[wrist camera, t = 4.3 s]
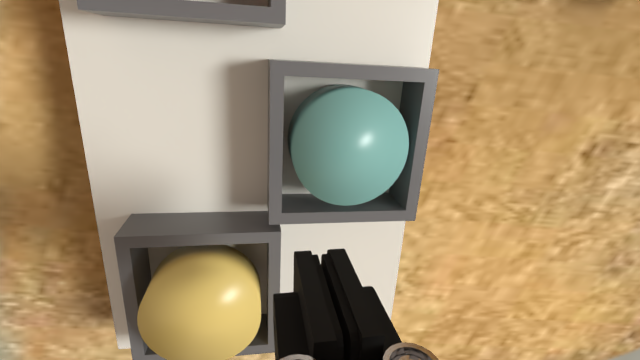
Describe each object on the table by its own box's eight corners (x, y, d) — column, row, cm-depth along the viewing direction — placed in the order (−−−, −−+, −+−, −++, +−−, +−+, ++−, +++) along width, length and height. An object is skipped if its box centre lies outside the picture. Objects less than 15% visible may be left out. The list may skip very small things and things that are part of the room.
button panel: (61, -181, 15) (-36, -297, 10) (429, -122, 18) (498, -189, 13) (134, 314, 24) (101, 386, 19) (375, 297, 27) (404, 355, 22)
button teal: (288, 81, 17) (293, 86, 15) (397, 86, 18) (416, 91, 16) (286, 188, 19) (290, 206, 17) (384, 187, 20) (400, 204, 18)
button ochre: (145, 244, 18) (129, 272, 15) (260, 240, 19) (261, 266, 16) (156, 334, 19) (144, 371, 17) (260, 326, 20) (261, 360, 18)
